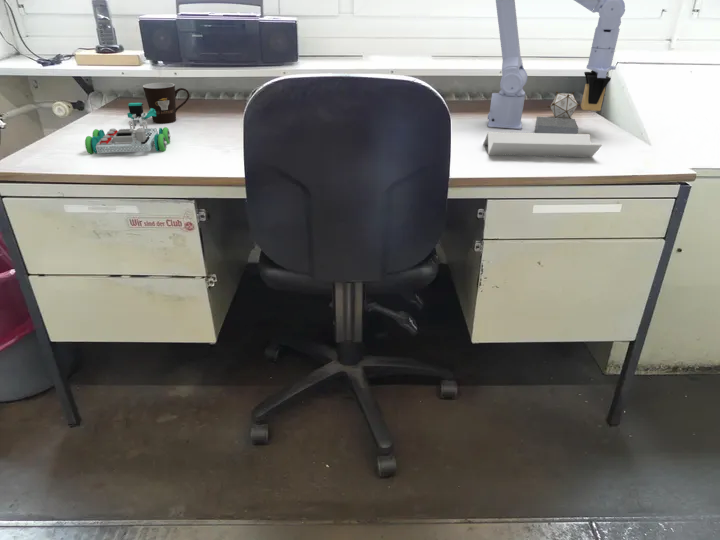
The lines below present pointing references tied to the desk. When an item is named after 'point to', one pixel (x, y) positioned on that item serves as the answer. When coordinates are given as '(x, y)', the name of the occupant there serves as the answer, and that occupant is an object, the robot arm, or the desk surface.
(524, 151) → the grey v-shaped trough
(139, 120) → the robot kit
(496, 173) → the desk surface
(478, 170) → the desk surface
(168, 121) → the coffee mug
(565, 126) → the charcoal stand
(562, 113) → the game die
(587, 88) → the ochre block
